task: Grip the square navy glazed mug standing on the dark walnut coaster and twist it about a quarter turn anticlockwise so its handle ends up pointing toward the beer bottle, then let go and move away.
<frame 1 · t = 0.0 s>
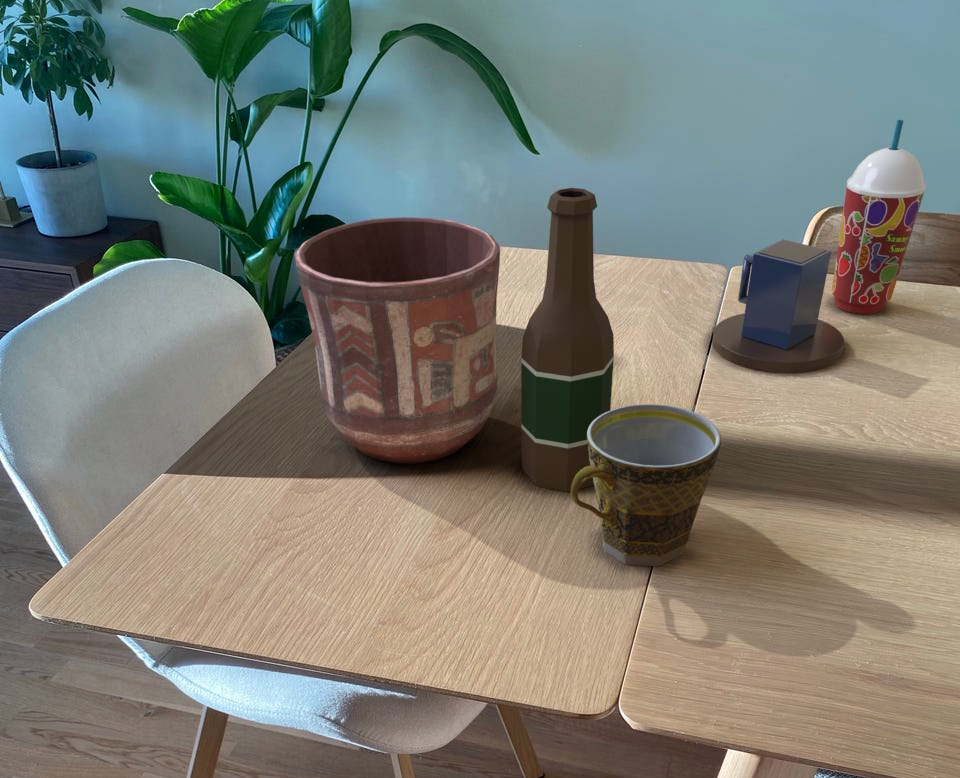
mug: (774, 291, 105), point 6 cm above the table, hinge at 0.0°
smoothie: (858, 307, 117), on the table
coaster: (776, 345, 108), on the table
pottery: (412, 438, 95), on the table
ceramic cup: (629, 552, 79), on the table
beer bottle: (563, 473, 89), on the table
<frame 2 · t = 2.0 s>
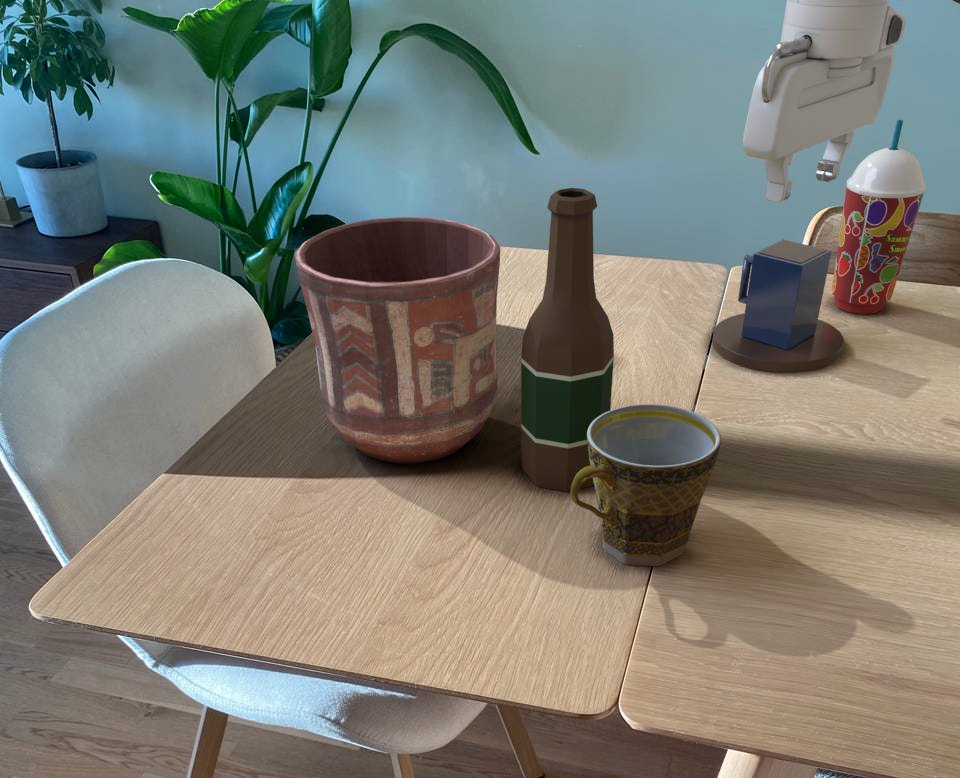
hand: (802, 189, 98), 16 cm above the table, tool pointing down, fingers open, 8 cm apart
nothing on the table moved.
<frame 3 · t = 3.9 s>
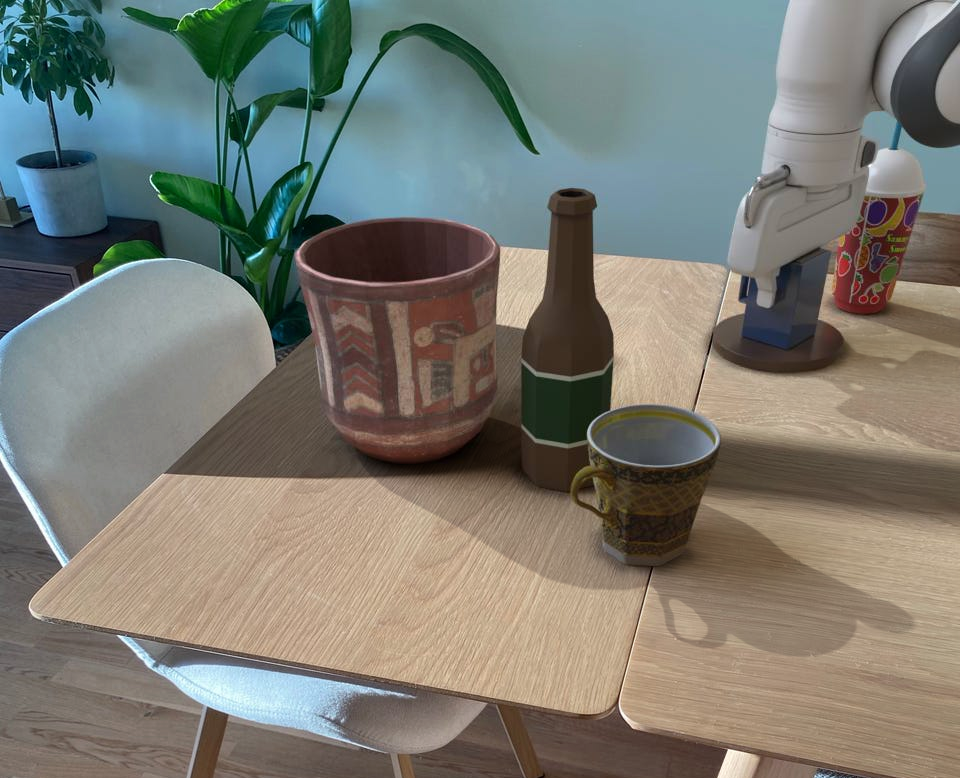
hand: (785, 295, 105), 6 cm above the table, tool pointing down, fingers closed on mug, 6 cm apart
mug: (774, 291, 106), point 6 cm above the table, hinge at -0.1°, touching gripper
everything else where it was.
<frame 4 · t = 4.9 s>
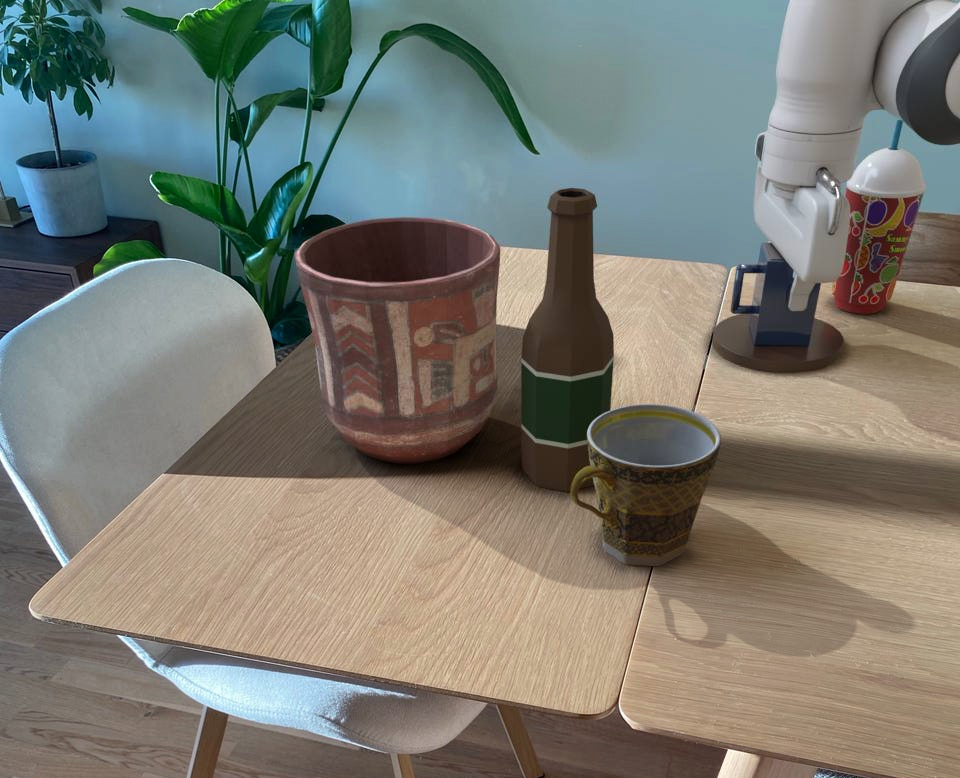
hand: (785, 295, 105), 6 cm above the table, tool pointing down, fingers closed on mug, 6 cm apart
mug: (772, 294, 105), point 6 cm above the table, hinge at 38.6°, touching gripper
everything else where it was.
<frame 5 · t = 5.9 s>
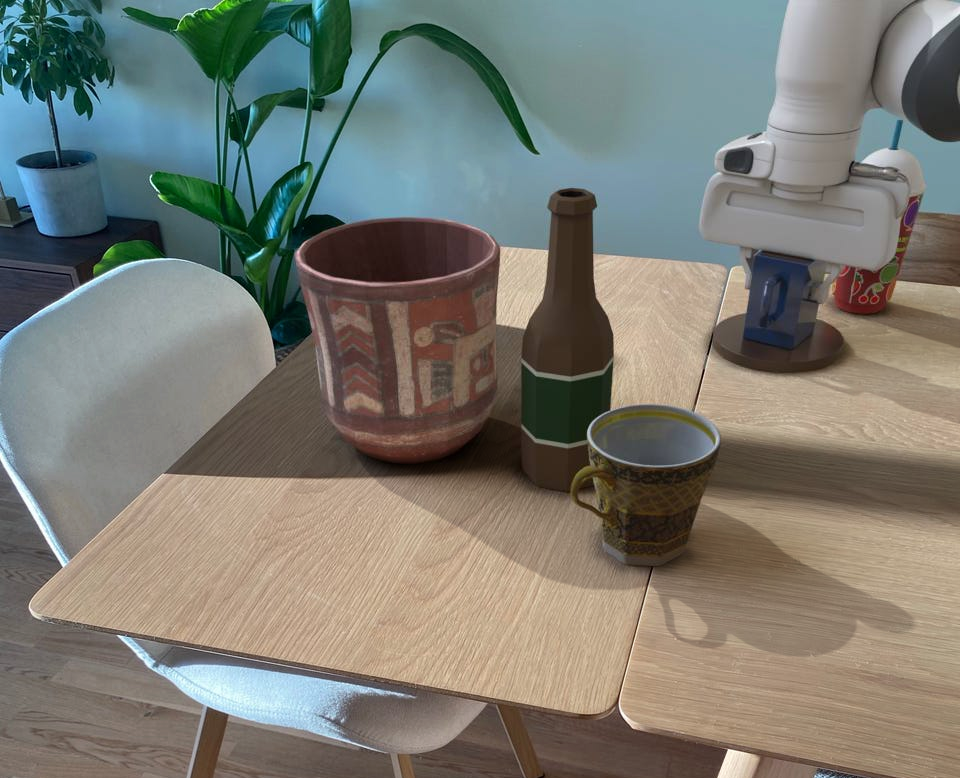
hand: (784, 295, 105), 6 cm above the table, tool pointing down, fingers closed on mug, 6 cm apart
mug: (780, 298, 104), point 6 cm above the table, hinge at 97.4°, touching gripper
everything else where it was.
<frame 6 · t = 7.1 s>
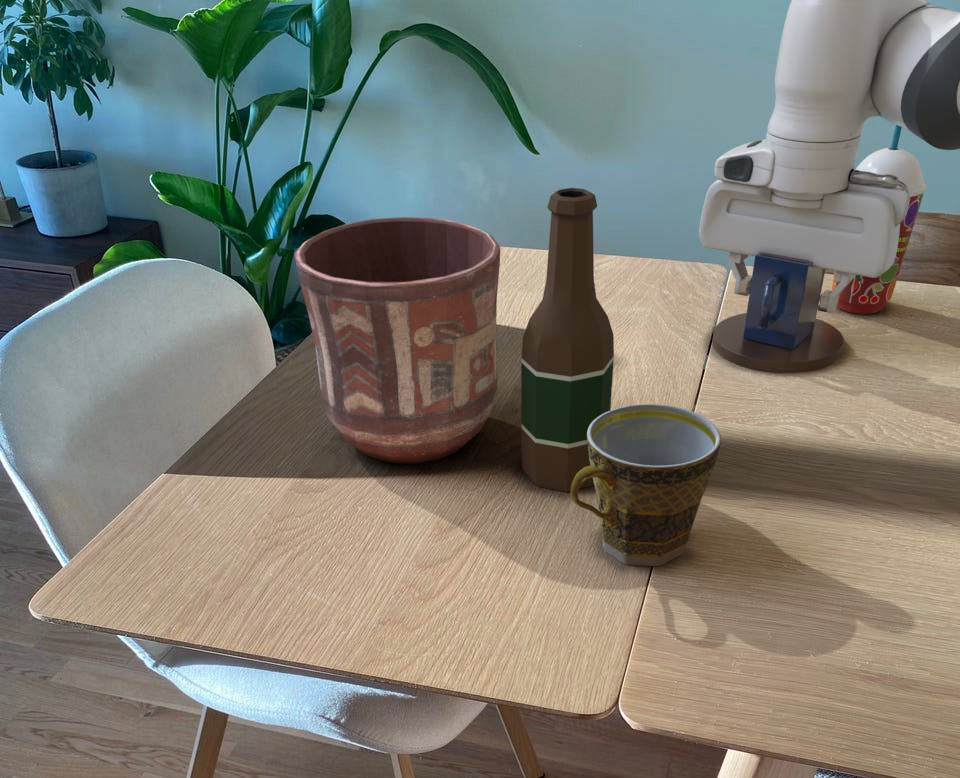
hand: (784, 302, 105), 5 cm above the table, tool pointing down, fingers open, 8 cm apart
mug: (780, 298, 104), point 6 cm above the table, hinge at 98.6°
everything else where it was.
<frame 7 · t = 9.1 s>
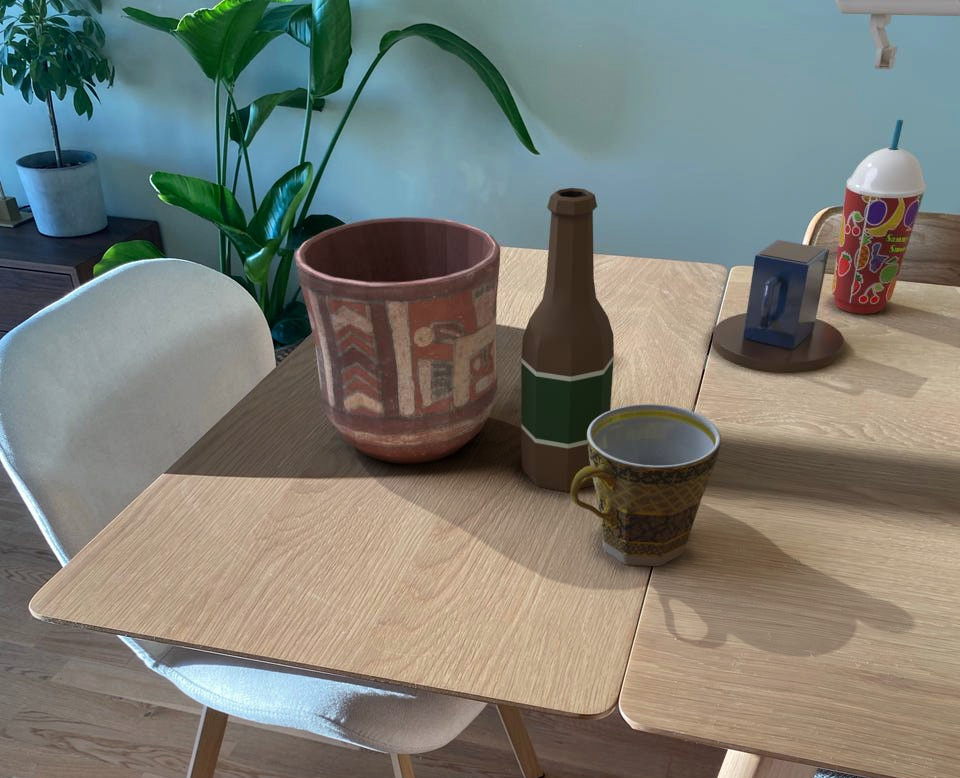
hand: (933, 70, 94), 26 cm above the table, tool pointing down, fingers open, 8 cm apart
nothing on the table moved.
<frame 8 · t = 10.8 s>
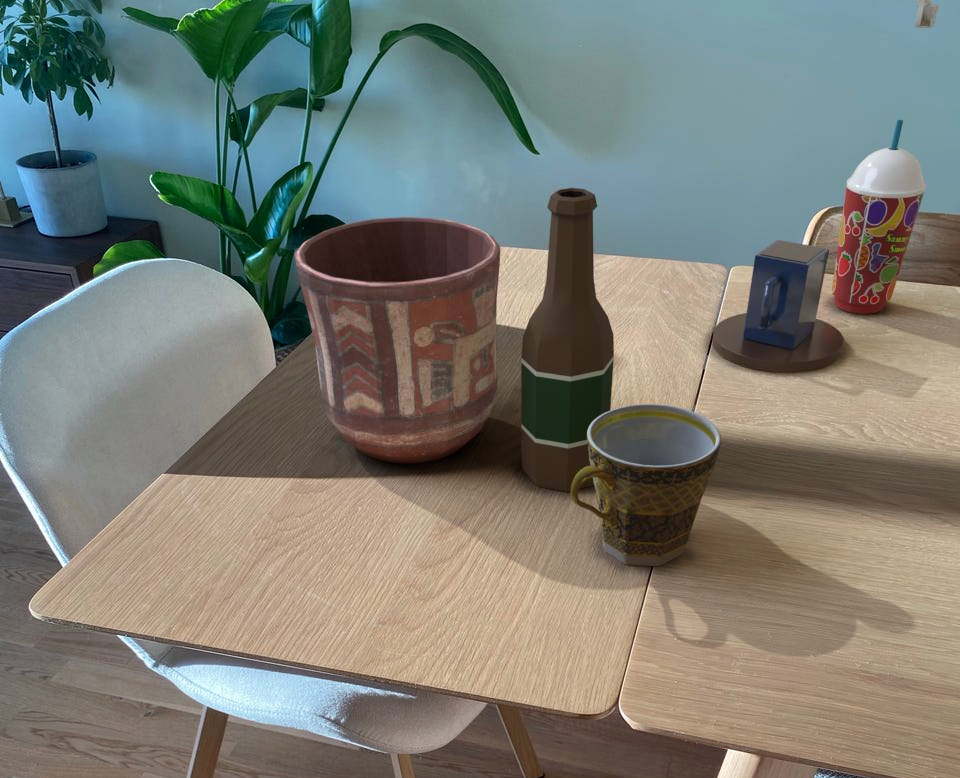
nothing on the table moved.
at the end: mug at +99° (first picture: +0°); beer bottle moved 0.2 cm from its start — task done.
